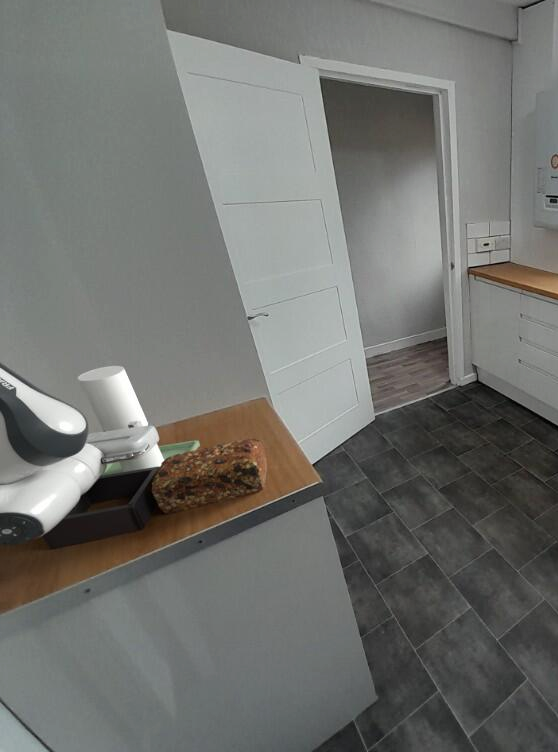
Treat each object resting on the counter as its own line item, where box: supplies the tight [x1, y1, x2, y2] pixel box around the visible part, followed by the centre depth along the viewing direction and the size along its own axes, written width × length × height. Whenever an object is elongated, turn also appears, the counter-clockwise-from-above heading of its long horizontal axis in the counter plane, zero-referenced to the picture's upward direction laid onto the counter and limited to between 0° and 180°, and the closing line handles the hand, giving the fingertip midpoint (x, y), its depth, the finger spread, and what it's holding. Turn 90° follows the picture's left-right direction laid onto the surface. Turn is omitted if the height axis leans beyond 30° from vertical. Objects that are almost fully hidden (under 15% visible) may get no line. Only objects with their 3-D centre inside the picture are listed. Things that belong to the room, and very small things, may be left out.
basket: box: [42, 466, 160, 550], centre depth 82 cm, size 14×13×6 cm
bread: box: [152, 438, 268, 515], centre depth 88 cm, size 19×11×10 cm, turn 113°
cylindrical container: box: [77, 365, 164, 472], centre depth 90 cm, size 7×7×25 cm
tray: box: [101, 439, 201, 476], centre depth 96 cm, size 17×15×2 cm
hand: (109, 427), depth 85 cm, fingers open, 8 cm apart
